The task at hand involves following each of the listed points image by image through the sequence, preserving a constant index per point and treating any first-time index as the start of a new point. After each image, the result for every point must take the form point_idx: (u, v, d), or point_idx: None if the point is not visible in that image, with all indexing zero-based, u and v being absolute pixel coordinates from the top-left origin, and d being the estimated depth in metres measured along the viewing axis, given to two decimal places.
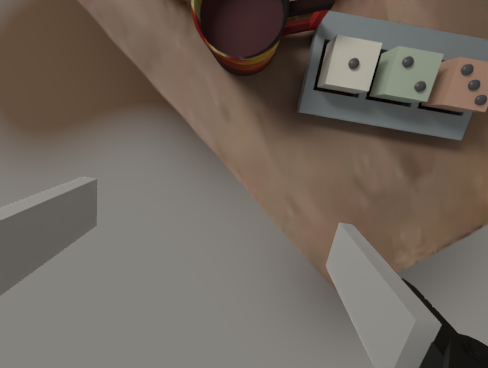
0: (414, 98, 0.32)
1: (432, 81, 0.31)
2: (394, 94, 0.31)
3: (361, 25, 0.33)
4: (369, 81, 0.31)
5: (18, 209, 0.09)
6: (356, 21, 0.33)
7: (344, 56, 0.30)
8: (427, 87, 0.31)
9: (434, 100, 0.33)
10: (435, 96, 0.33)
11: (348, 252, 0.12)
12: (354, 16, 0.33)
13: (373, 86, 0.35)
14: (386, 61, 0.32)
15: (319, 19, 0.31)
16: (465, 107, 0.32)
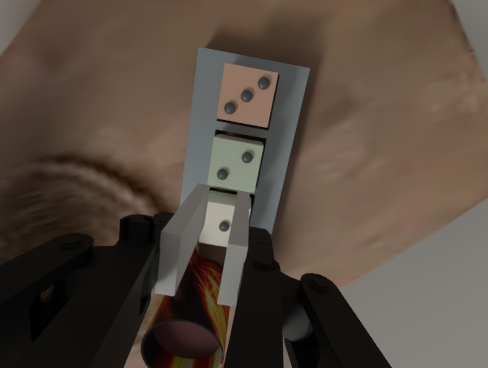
0: (259, 160, 0.28)
1: (241, 144, 0.28)
2: (254, 182, 0.29)
3: None
4: None
5: (190, 212, 0.11)
6: None
7: (217, 234, 0.31)
8: (248, 148, 0.28)
9: None
10: None
11: None
12: (180, 205, 0.34)
13: None
14: None
15: None
16: (271, 99, 0.26)
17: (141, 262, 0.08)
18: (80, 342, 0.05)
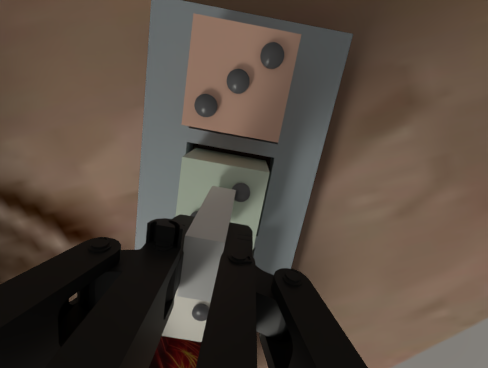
0: (262, 196, 0.16)
1: (231, 169, 0.16)
2: (254, 233, 0.17)
3: None
4: None
5: (209, 215, 0.11)
6: None
7: (190, 323, 0.18)
8: (242, 176, 0.16)
9: None
10: None
11: None
12: None
13: None
14: None
15: None
16: (287, 88, 0.13)
17: (167, 266, 0.08)
18: (107, 346, 0.05)
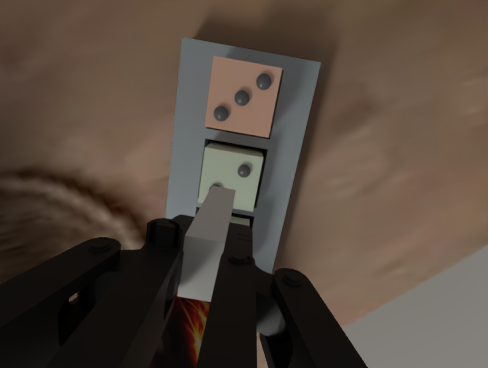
0: (258, 174, 0.24)
1: (237, 155, 0.23)
2: (253, 199, 0.25)
3: None
4: None
5: (209, 215, 0.11)
6: None
7: None
8: (245, 160, 0.24)
9: None
10: None
11: None
12: None
13: None
14: None
15: None
16: (274, 102, 0.21)
17: (167, 267, 0.08)
18: (107, 346, 0.05)
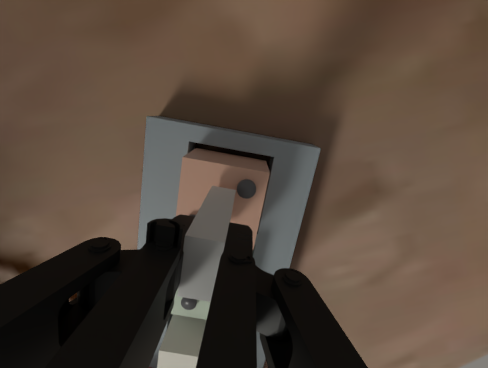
0: None
1: None
2: None
3: None
4: None
5: (209, 215, 0.11)
6: None
7: None
8: None
9: None
10: None
11: None
12: None
13: None
14: None
15: None
16: (259, 210, 0.16)
17: (167, 266, 0.08)
18: (107, 346, 0.05)
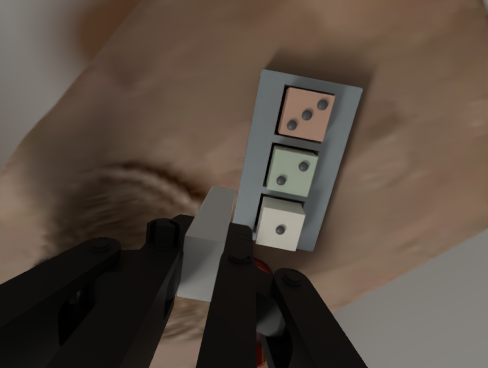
0: (313, 169, 0.33)
1: (299, 155, 0.32)
2: (308, 188, 0.33)
3: (242, 203, 0.37)
4: (296, 215, 0.33)
5: (209, 215, 0.11)
6: (239, 208, 0.37)
7: (273, 237, 0.34)
8: (304, 159, 0.32)
9: None
10: None
11: None
12: (236, 209, 0.38)
13: None
14: None
15: None
16: (328, 118, 0.31)
17: (167, 266, 0.08)
18: (107, 346, 0.05)
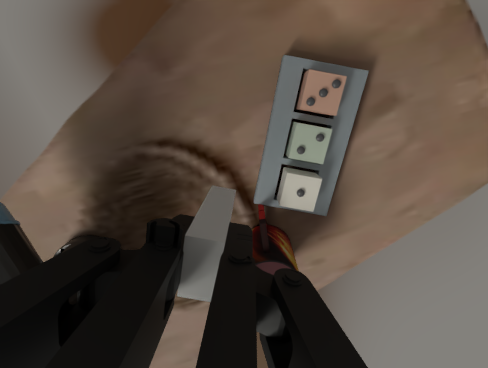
0: (328, 139, 0.38)
1: (316, 127, 0.38)
2: (324, 156, 0.39)
3: (265, 173, 0.43)
4: (314, 179, 0.39)
5: (209, 215, 0.11)
6: (262, 177, 0.43)
7: (294, 199, 0.40)
8: (321, 131, 0.38)
9: None
10: (325, 114, 0.39)
11: None
12: (259, 179, 0.43)
13: None
14: None
15: (264, 213, 0.42)
16: (340, 95, 0.37)
17: (167, 267, 0.08)
18: (107, 346, 0.05)
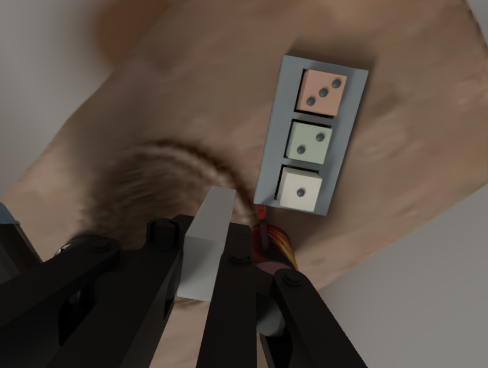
0: (328, 139, 0.38)
1: (316, 127, 0.38)
2: (324, 156, 0.39)
3: (265, 173, 0.43)
4: (314, 179, 0.39)
5: (209, 215, 0.11)
6: (262, 177, 0.43)
7: (294, 199, 0.40)
8: (321, 131, 0.38)
9: None
10: (325, 114, 0.39)
11: None
12: (259, 179, 0.43)
13: None
14: None
15: (264, 213, 0.42)
16: (340, 95, 0.37)
17: (167, 267, 0.08)
18: (107, 346, 0.05)
